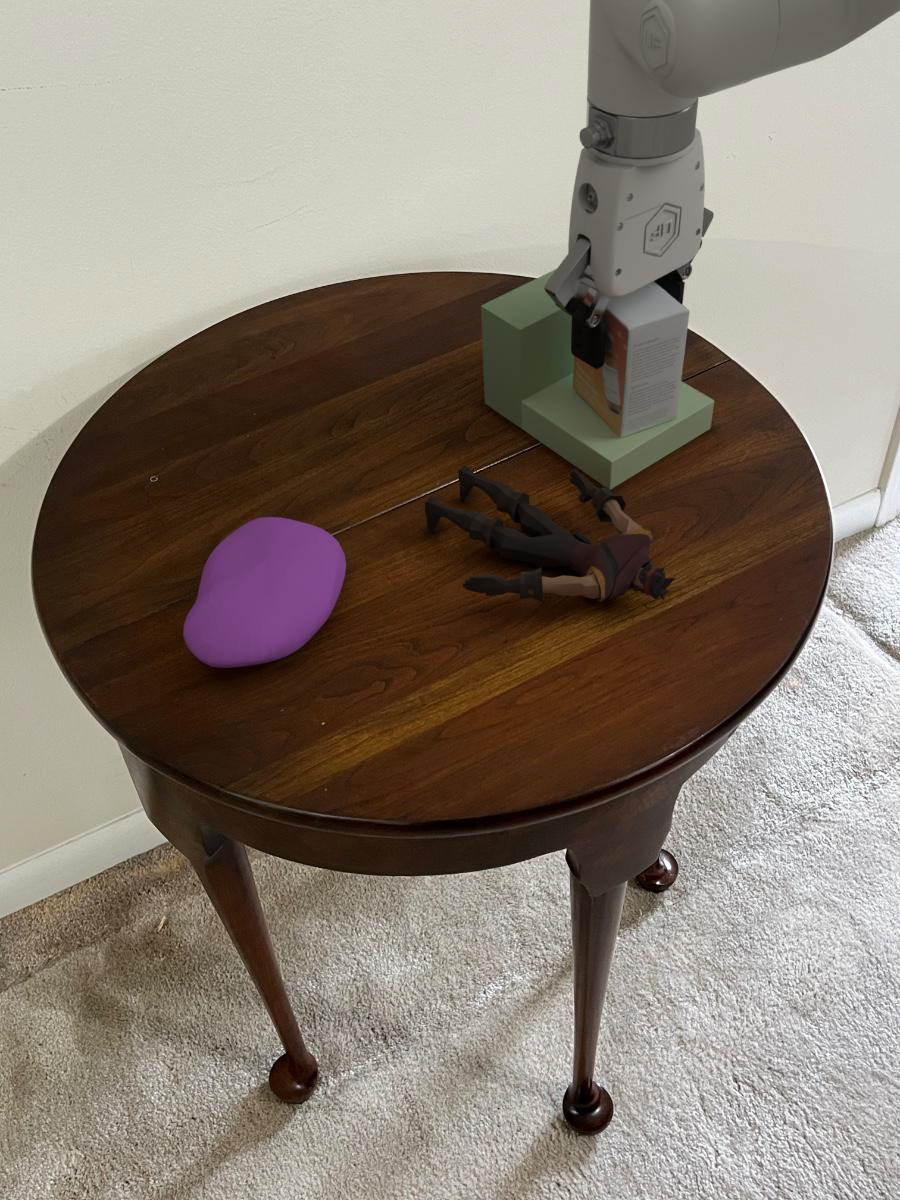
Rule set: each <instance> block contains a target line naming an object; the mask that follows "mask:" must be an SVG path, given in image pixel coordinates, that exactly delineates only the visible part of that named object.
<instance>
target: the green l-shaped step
mask: <svg viewBox="0 0 900 1200" xmlns="http://www.w3.org/2000/svg"><path fill="white" fill-rule="evenodd" d="M556 269H557V268H554V269H553V270H551V271H549V272H547V273H545V274H542V275H541V276H539V277H536V278H535V279H533V280H531V281H529V282H527V283H524V284H522V285H520V286H518V287H516V288H514V289H512V290H510V291H508V292H506V293H505V294H504V293H503V294H502V295H500V296H498V297H496V298H494V299H492V300H490V301H488V302H486V303H484V304H482V305H480V312H481V313H480V316H481V317H480V318H481V343H482V365H483V366H482V368H483V369H482V371H483V391H484V393H483V394H484V395H483V396H484V404H485V405H487V406H488V407H490V409H492V410H493V411H495V412H496V413H498V414H499V415H501V416H502V417H504V418H506V420H508V421H509V422H511V423H512V424H513V425H515V426H517V427H518V428H520V429H522V430H523V431H524V432H526V433H527V434H528V435H530V436H531V437H533V438H534V439H535V440H537V441H538V442H539V443H541V444H543V446H545V447H547V448H549V449H550V450H551V451H553V452H554V453H556V454H557V455H558V456H560V457H562V458H563V459H564V460H566V461H567V462H568V463H570V464H572V466H574V467H575V468H577V469H579V470H580V471H581V472H583V473H584V474H586V475H587V476H589V477H590V478H591V479H593V480H595V482H597V483H598V484H601V485H602V486H603V487H604V488H606V487H608V489H609V490H610V491H611V490H613V489H614V488H615V487H617V486H619V485H621V484H622V483H624V482H625V481H628V480H629V479H631V478H632V477H634V476H636V475H637V474H639V473H640V472H642V471H643V470H645V469H647V468H648V467H650V466H651V465H653V464H656V463H657V462H659V461H660V460H661V459H663V458H666V456H668V455H670V454H672V453H673V452H674V451H677V450H678V449H679V448H681V447H683V446H684V445H686V444H688V443H690V442H691V441H693V440H695V439H696V438H698V437H699V436H701V435H703V434H704V433H706V432H707V431H709V430H710V429H711V428H712V420H713V414H714V407H715V400H714V399H713V398H711V397H710V396H708V395H706V394H705V393H702V392H701V391H699V390H698V389H696V388H693V387H692V386H691V385H689V384H688V383H686V382H684V381H682V380H681V384H680V393H679V400H678V408H677V417H676V418H675V419H673V420H671V421H668V422H665V423H662V424H659V425H656V426H653V427H651V428H648V429H645V430H642V431H639V432H636V433H634V434H631V435H628V436H625V437H623V438H619V437H618V436H617V435H616V434H615V432H614V431H613V430H612V429H611V428H610V427H609V426H608V425H607V423H606V422H605V421H604V420H603V419H602V418H601V417H600V416H599V415H598V414H597V413H596V412H595V410H594V409H593V408H592V407H591V406H590V405H589V404H588V403H587V402H586V401H585V400H584V399H583V398H582V397H581V396H580V395H579V394H578V393H577V392H576V391H575V390H574V389H573V367H574V355H573V354H572V352H571V330H572V316H571V315H569V314H567V313H566V312H565V311H563V310H562V309H560V308H559V307H558V306H556V304H555V302H554V301H553V300H552V299H551V297H550V296H549V295H548V294H547V293H546V292H545V285H546V283H547V281H548V280H549V279H550V277H551V276H552V275H553V273H554V272H555V271H556ZM574 285H575V284H574ZM573 287H574V286H573Z"/></svg>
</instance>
